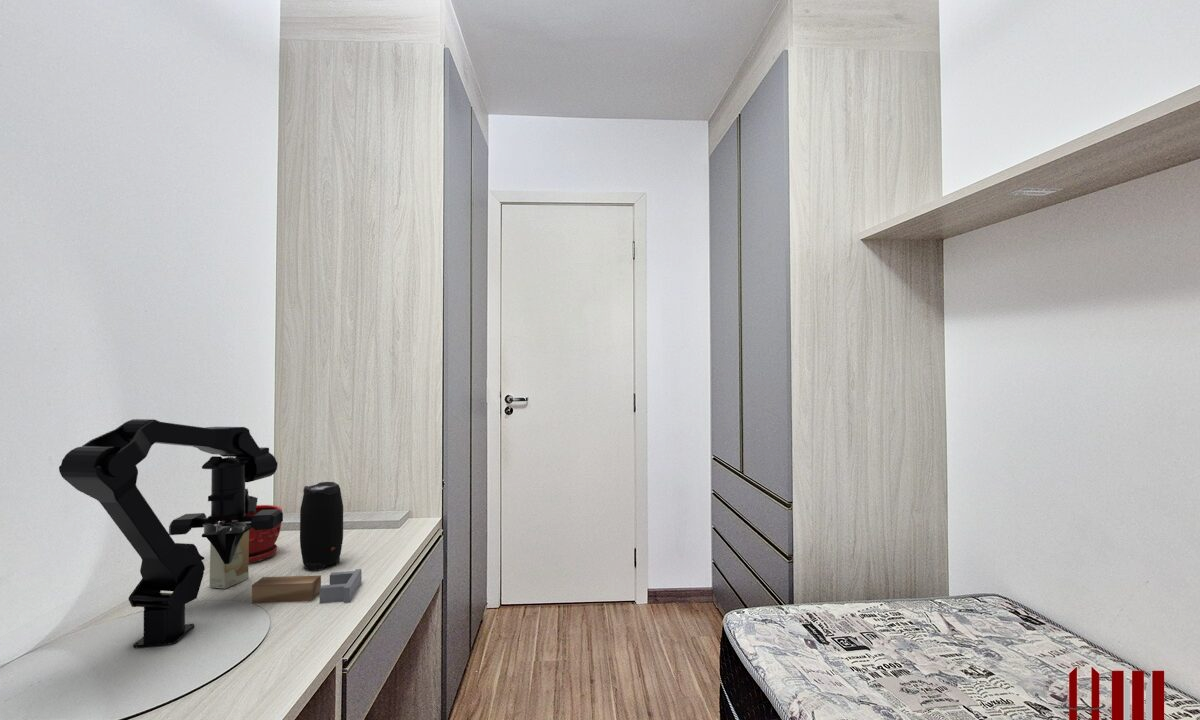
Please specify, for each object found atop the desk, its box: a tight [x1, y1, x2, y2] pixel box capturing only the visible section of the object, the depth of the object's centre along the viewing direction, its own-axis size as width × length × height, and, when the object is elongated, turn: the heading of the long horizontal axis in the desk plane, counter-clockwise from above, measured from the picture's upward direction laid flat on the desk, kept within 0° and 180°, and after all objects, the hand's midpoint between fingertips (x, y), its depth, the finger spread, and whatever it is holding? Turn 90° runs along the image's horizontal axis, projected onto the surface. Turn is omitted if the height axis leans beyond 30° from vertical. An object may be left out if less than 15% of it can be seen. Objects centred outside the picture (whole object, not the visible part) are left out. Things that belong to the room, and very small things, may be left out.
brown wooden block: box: [251, 574, 322, 604], centre depth 110 cm, size 4×12×4 cm, turn 94°
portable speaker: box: [299, 481, 344, 572], centre depth 128 cm, size 9×9×20 cm
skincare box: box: [209, 529, 250, 590], centre depth 118 cm, size 6×4×12 cm
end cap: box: [319, 568, 363, 604], centre depth 112 cm, size 10×6×3 cm, turn 12°
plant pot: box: [219, 504, 283, 564], centre depth 133 cm, size 13×13×12 cm
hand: (227, 563), depth 108 cm, fingers closed
